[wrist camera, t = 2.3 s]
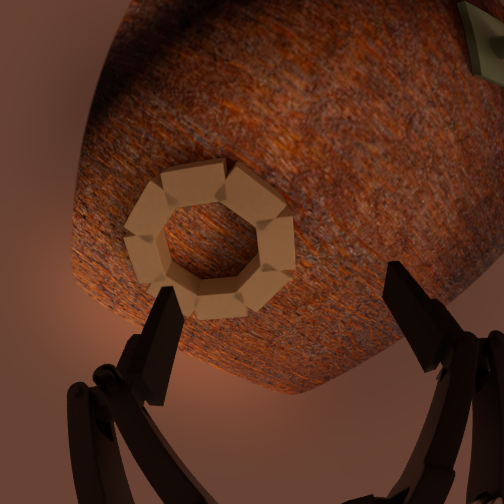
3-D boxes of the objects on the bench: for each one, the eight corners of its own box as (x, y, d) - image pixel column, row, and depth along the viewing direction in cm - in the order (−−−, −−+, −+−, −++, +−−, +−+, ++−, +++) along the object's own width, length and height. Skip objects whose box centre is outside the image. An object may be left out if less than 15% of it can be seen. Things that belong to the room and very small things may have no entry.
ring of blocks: (121, 177, 21) (107, 184, 18) (283, 150, 20) (288, 155, 18) (160, 305, 27) (154, 321, 25) (292, 294, 26) (296, 311, 24)
